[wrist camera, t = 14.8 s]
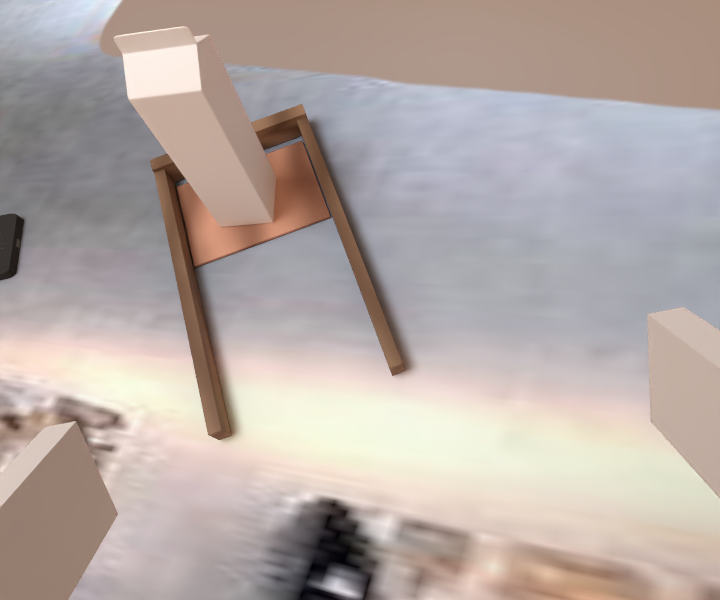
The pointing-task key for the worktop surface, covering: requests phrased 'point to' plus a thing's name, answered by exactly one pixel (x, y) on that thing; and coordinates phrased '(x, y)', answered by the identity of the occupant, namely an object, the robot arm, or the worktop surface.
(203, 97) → the milk
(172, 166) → the bay
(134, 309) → the worktop surface
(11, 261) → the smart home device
